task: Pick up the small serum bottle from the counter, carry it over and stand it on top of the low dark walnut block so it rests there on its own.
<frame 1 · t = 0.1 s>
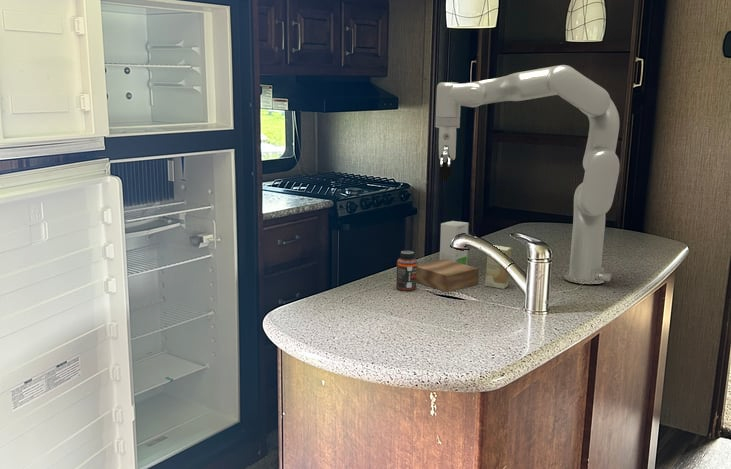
hand: (445, 177, 227), 31 cm above the counter, tool pointing down, fingers open, 9 cm apart
supplement bottle: (406, 289, 215), on the counter
skincare box: (452, 269, 238), on the counter
walnut block: (445, 282, 222), on the counter
skincare box 2: (496, 286, 220), on the counter
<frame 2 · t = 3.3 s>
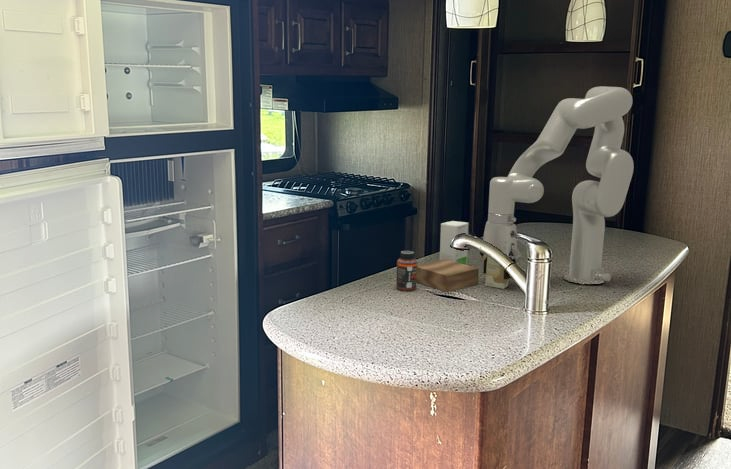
hand: (497, 275, 219), 3 cm above the counter, tool pointing down, fingers closed on skincare box 2, 7 cm apart
skincare box 2: (496, 286, 219), on the counter, touching gripper
everything else where it was.
when the fingers open (8 cm above the counter, at t = 8.5 s): skincare box 2 stays where it is, resting on walnut block.
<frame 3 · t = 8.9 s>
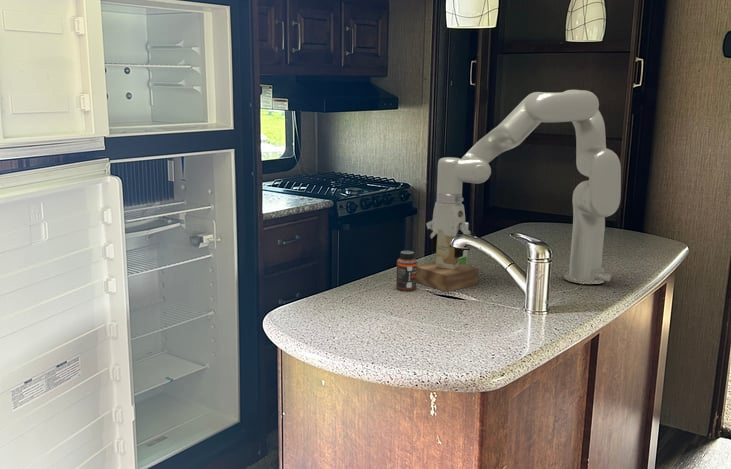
hand: (446, 253, 220), 9 cm above the counter, tool pointing down, fingers open, 9 cm apart
skincare box 2: (447, 267, 221), point 5 cm above the counter, touching walnut block
everything else where it was.
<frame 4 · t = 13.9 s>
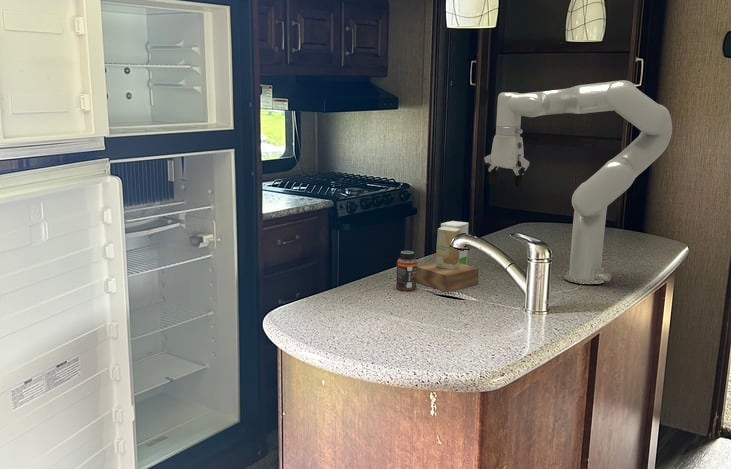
hand: (504, 185, 231), 28 cm above the counter, tool pointing down, fingers open, 9 cm apart
nothing on the counter moved.
at the end: skincare box 2 inside the target area on the walnut block (0.4 cm from its centre), point 4.8 cm above the walnut block's base; skincare box 2 tilted 0°; the gripper is holding nothing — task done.
